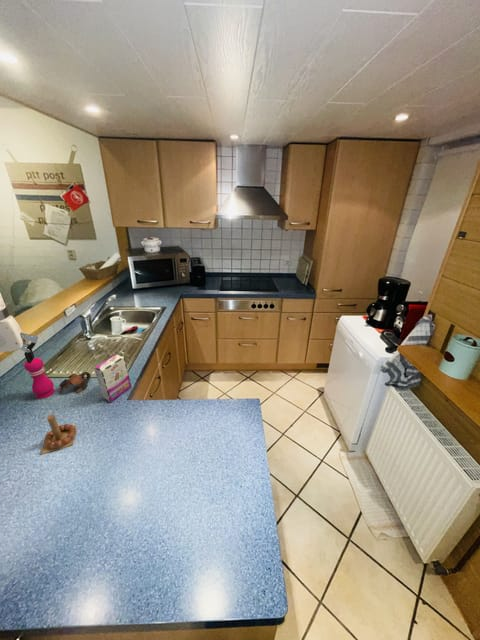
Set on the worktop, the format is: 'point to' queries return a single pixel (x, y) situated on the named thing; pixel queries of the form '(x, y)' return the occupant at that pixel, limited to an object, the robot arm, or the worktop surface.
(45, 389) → the pepper mill
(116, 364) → the candy bar box
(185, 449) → the worktop surface
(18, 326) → the robot arm
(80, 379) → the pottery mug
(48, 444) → the ring
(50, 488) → the worktop surface
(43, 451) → the post
